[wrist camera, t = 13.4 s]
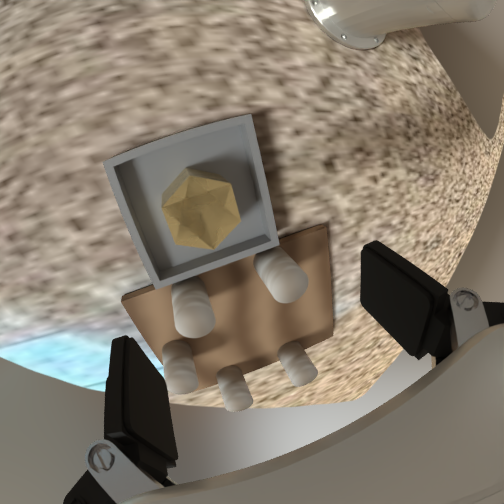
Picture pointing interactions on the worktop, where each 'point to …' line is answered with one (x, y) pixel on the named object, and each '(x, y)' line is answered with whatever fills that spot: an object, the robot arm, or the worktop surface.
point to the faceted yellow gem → (200, 209)
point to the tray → (164, 173)
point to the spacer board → (241, 318)
